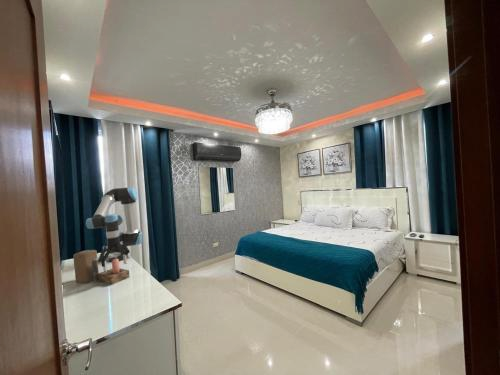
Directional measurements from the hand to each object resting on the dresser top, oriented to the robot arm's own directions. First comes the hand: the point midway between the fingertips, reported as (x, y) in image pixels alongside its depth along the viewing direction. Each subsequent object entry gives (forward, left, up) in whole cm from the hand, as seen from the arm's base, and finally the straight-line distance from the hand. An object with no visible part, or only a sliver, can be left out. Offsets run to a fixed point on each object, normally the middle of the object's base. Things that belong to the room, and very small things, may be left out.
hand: (115, 267), depth 153 cm
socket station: (0, -5, -9) cm, 10 cm away
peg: (0, 0, -9) cm, 9 cm away
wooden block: (+8, -22, -9) cm, 25 cm away
